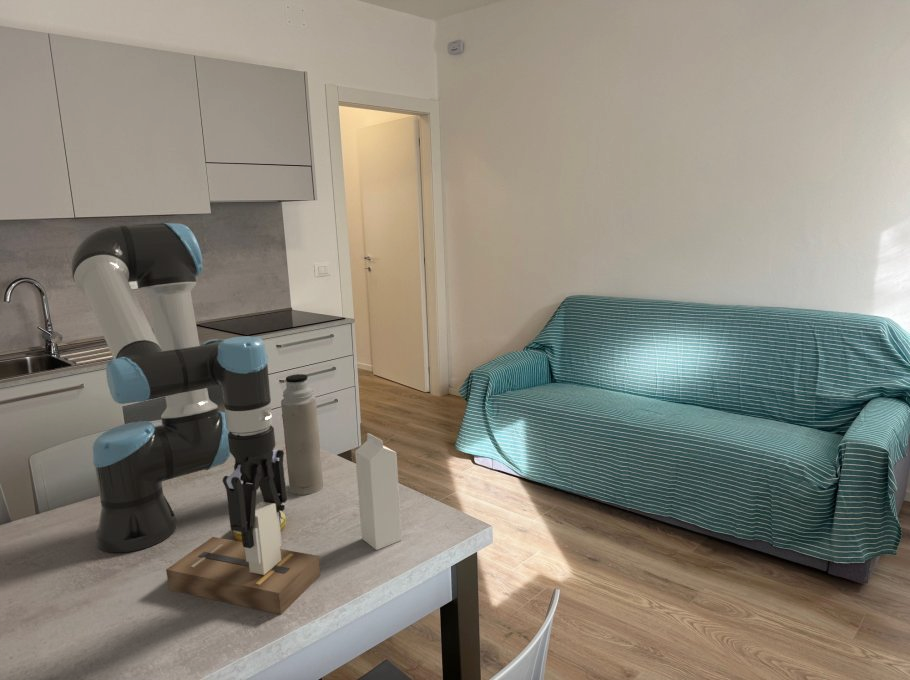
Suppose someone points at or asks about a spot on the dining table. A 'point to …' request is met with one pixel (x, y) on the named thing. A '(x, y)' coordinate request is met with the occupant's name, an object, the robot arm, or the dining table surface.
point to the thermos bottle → (301, 436)
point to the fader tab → (267, 537)
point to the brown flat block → (242, 576)
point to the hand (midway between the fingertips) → (264, 552)
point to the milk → (378, 493)
